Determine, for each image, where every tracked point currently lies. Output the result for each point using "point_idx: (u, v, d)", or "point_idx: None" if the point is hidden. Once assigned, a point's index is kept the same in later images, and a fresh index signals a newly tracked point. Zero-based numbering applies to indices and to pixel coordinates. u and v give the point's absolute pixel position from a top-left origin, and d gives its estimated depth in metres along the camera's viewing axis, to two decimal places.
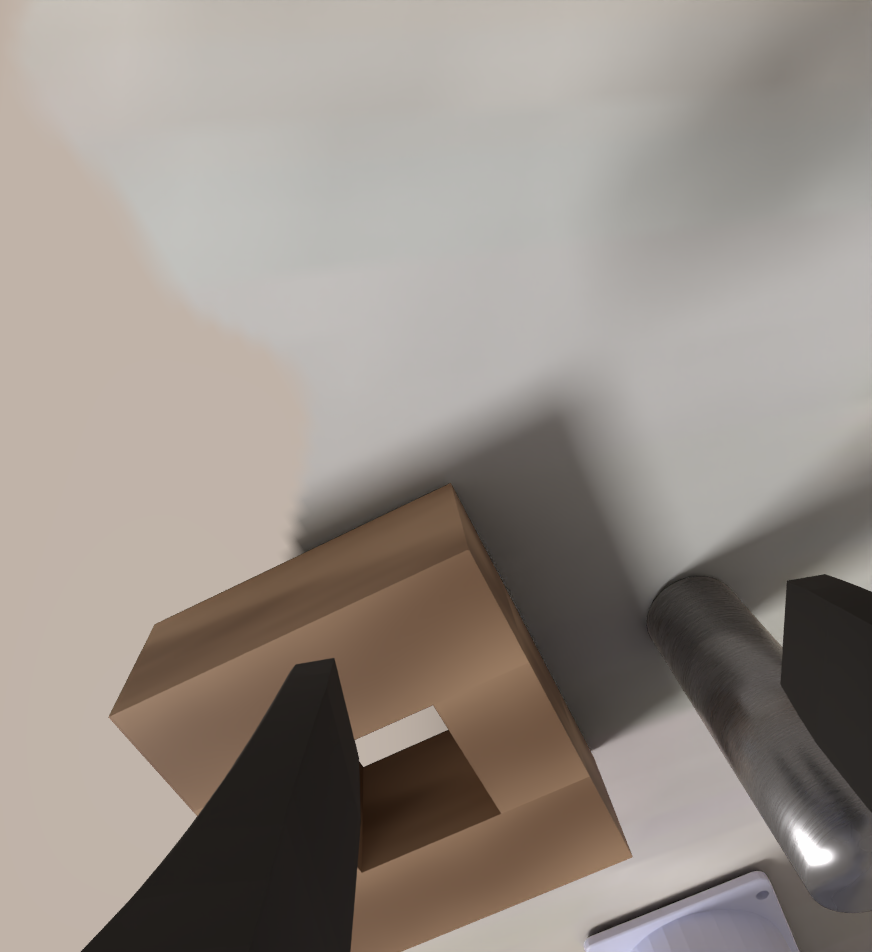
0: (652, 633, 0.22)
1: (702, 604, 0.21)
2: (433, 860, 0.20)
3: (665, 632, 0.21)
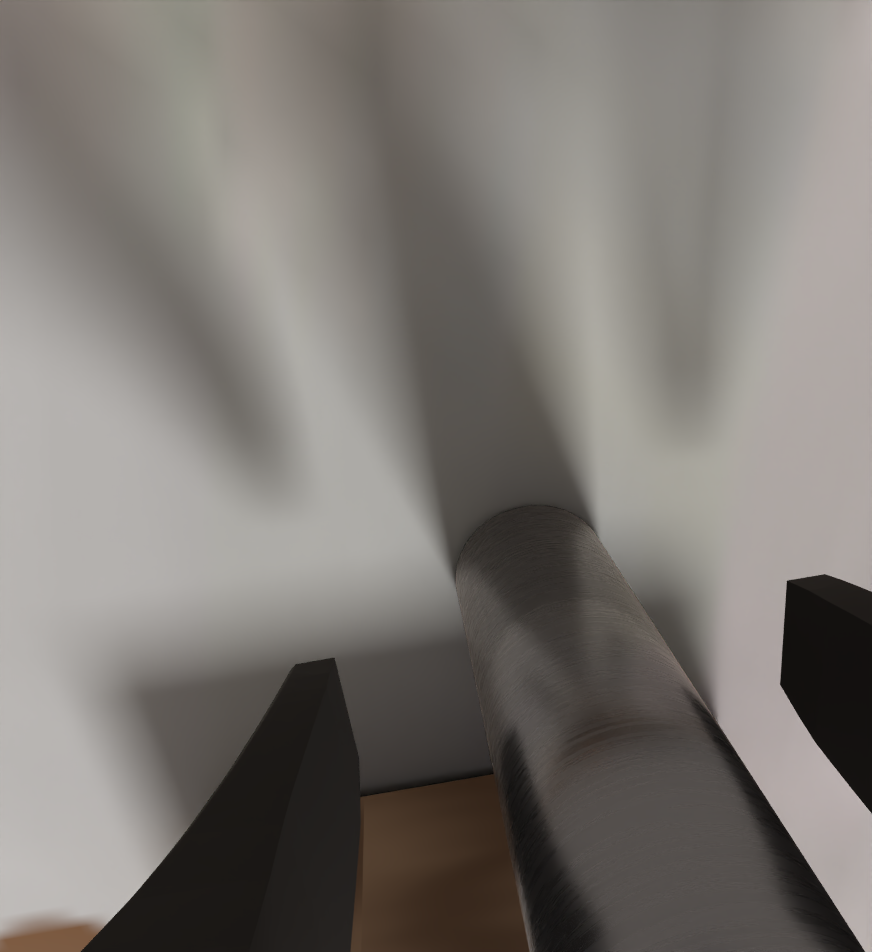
0: None
1: (464, 621, 0.12)
2: None
3: None
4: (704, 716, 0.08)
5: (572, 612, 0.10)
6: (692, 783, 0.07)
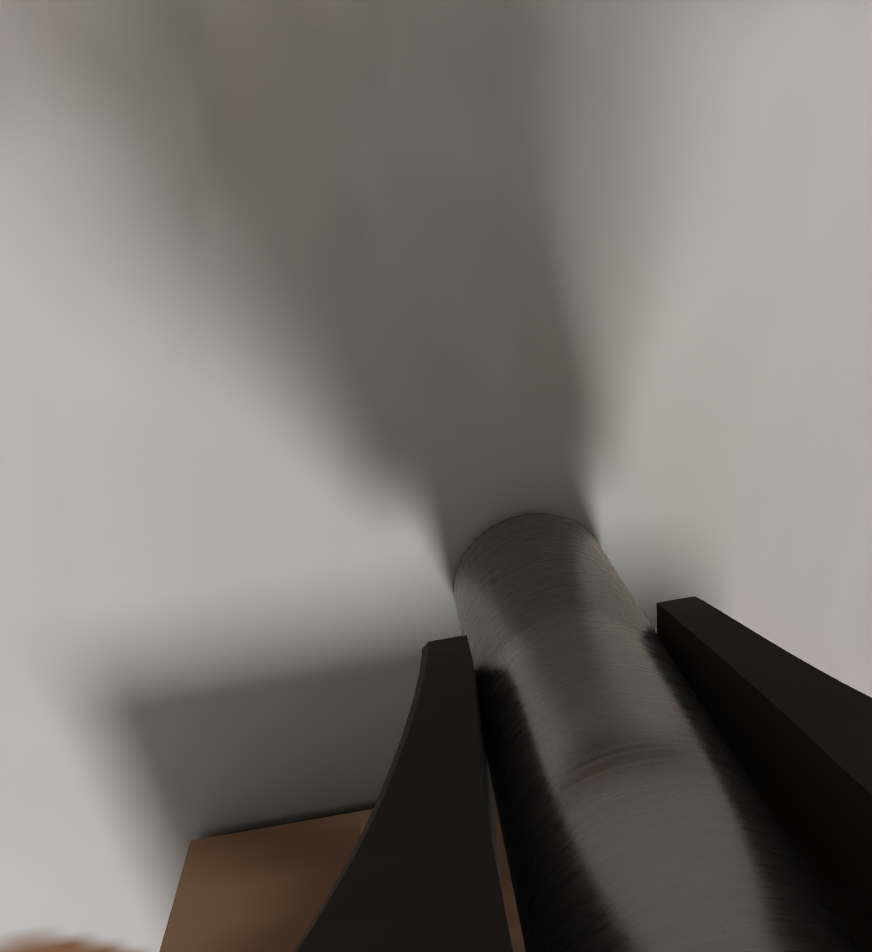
0: None
1: (463, 634, 0.12)
2: None
3: None
4: (715, 740, 0.08)
5: (575, 627, 0.09)
6: (706, 815, 0.07)
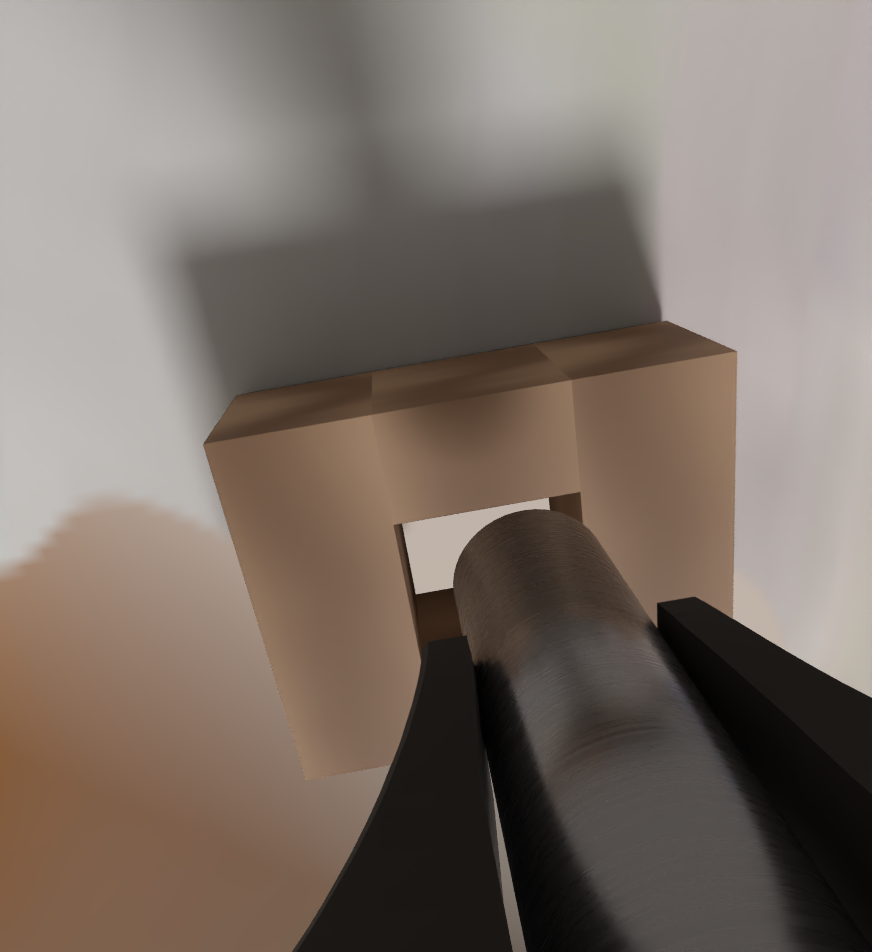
0: None
1: (462, 627, 0.12)
2: None
3: None
4: (715, 726, 0.08)
5: (575, 616, 0.09)
6: (707, 795, 0.07)
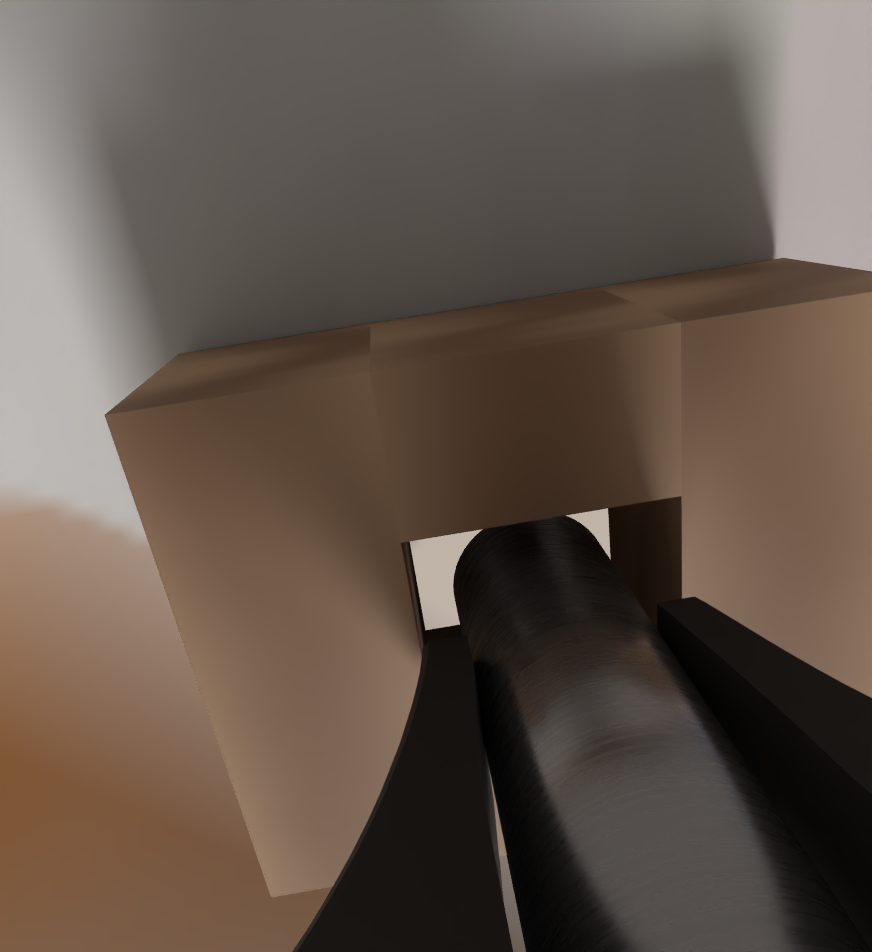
0: None
1: (462, 628, 0.12)
2: None
3: None
4: (715, 727, 0.08)
5: (575, 618, 0.09)
6: (706, 797, 0.07)
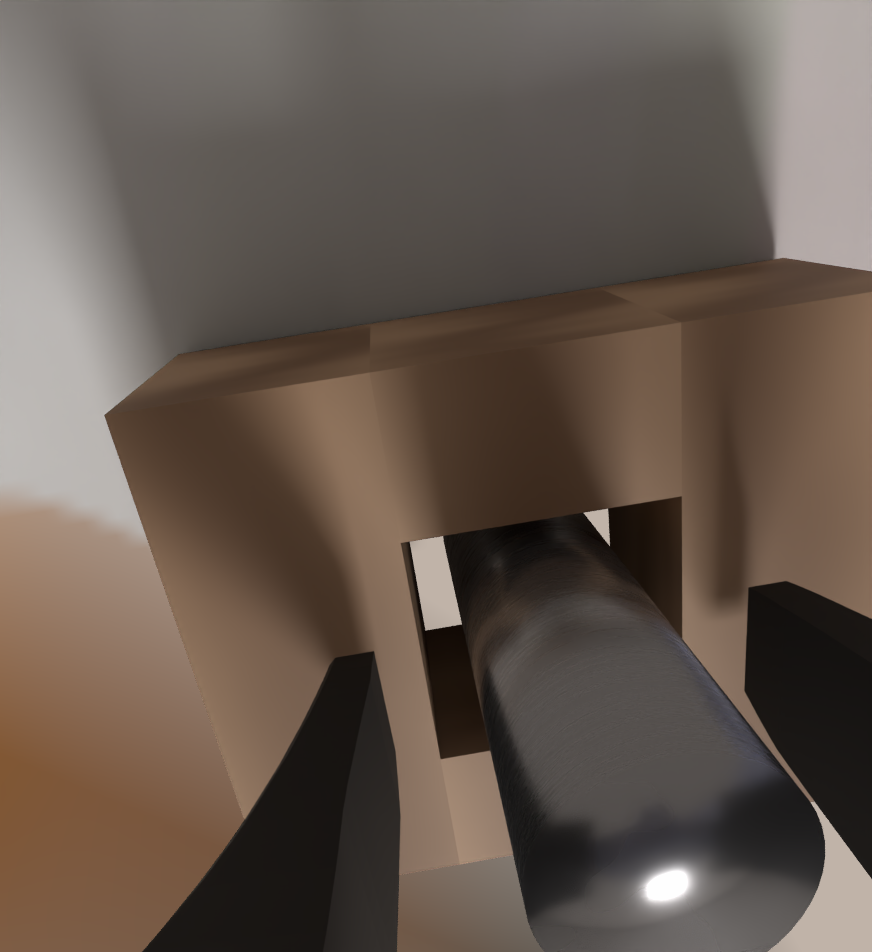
0: None
1: (450, 561, 0.14)
2: (720, 619, 0.12)
3: None
4: (646, 598, 0.10)
5: (539, 530, 0.11)
6: (628, 625, 0.08)
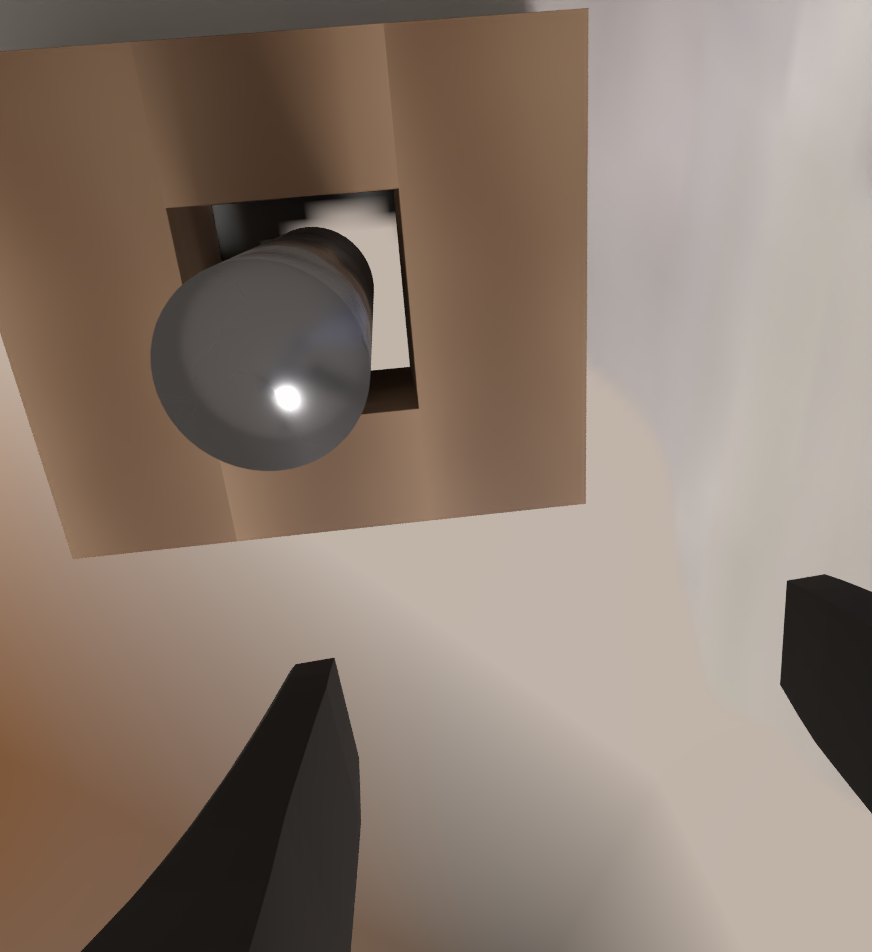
0: None
1: None
2: (442, 313, 0.14)
3: None
4: (342, 262, 0.12)
5: (290, 235, 0.14)
6: (293, 247, 0.11)
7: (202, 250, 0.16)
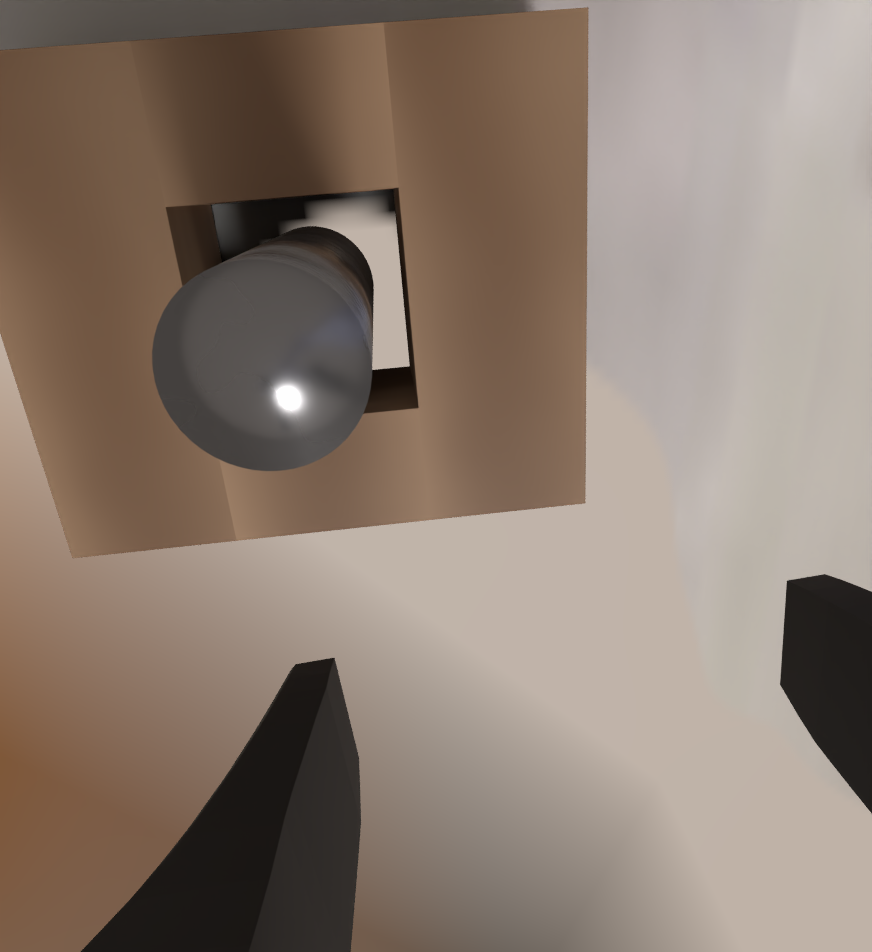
0: None
1: None
2: (441, 312, 0.14)
3: None
4: (342, 262, 0.12)
5: (291, 234, 0.14)
6: (294, 247, 0.11)
7: (202, 249, 0.16)
